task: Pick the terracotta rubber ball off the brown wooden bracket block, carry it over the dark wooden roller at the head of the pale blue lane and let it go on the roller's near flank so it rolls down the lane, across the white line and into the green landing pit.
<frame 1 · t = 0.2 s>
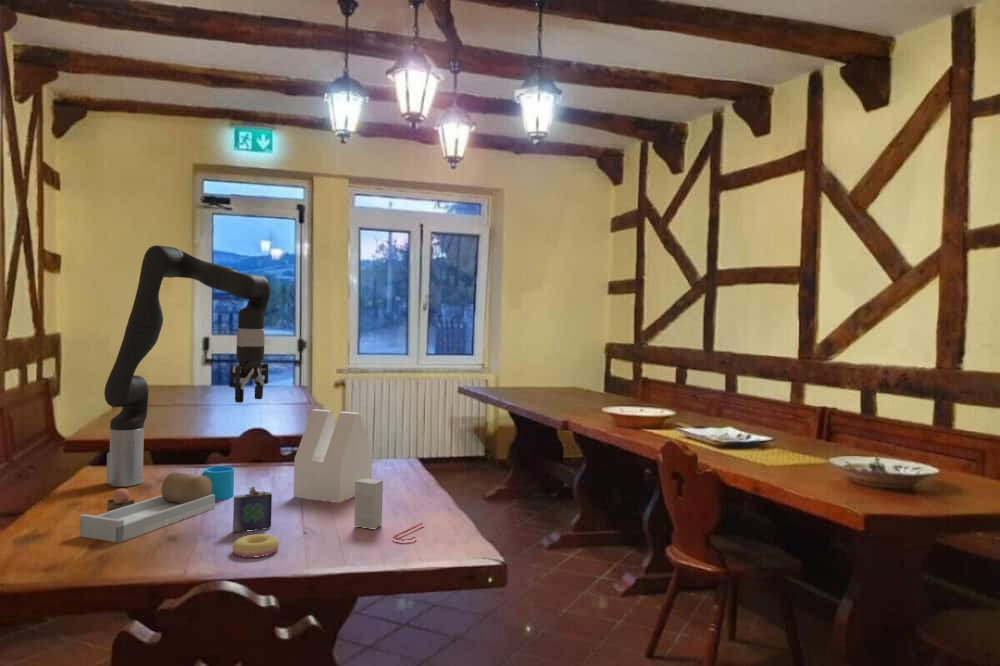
hand: (249, 400, 203), 29 cm above the table, tool pointing down, fingers open, 8 cm apart
flask: (252, 530, 177), on the table
ball: (120, 496, 188), point 4 cm above the table, touching brown wooden bracket block
skincare box: (367, 527, 183), on the table
lane: (153, 520, 182), on the table
candy cane: (411, 537, 178), on the table
donut: (255, 553, 162), on the table
brown wooden bracket block: (120, 512, 188), on the table
mug: (214, 496, 207), on the table
white slotted block: (333, 493, 216), on the table
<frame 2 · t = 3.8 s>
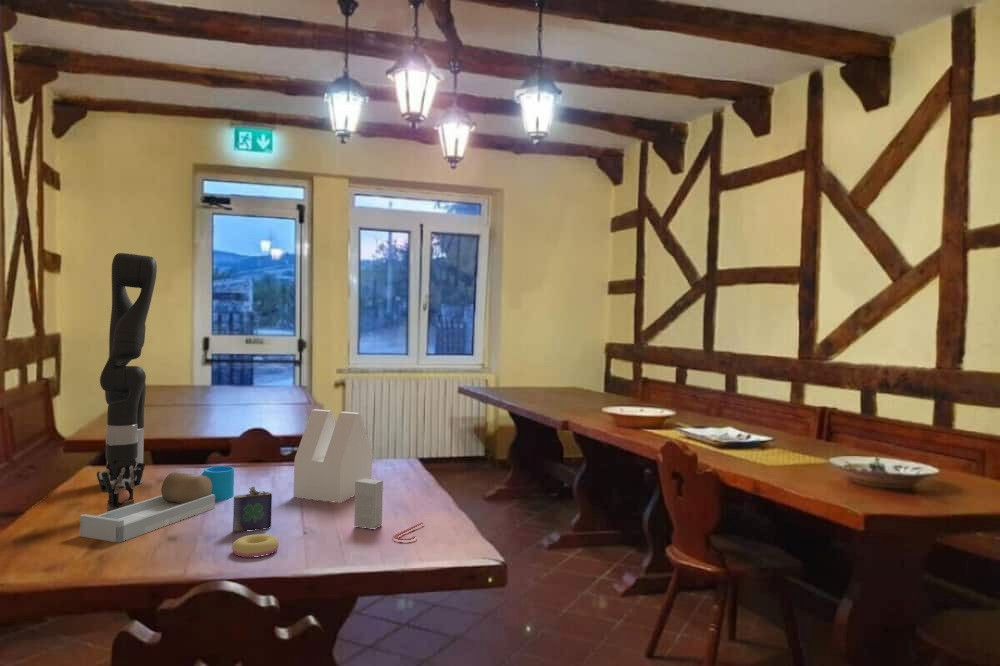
hand: (120, 504, 188), 2 cm above the table, tool pointing down, fingers closed on ball, 4 cm apart
ball: (121, 496, 188), point 4 cm above the table, touching gripper, brown wooden bracket block
everything else where it was.
when the fingers open (11 cm above the table, at t = 6.8 s): ball drops 11 cm, resting on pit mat.
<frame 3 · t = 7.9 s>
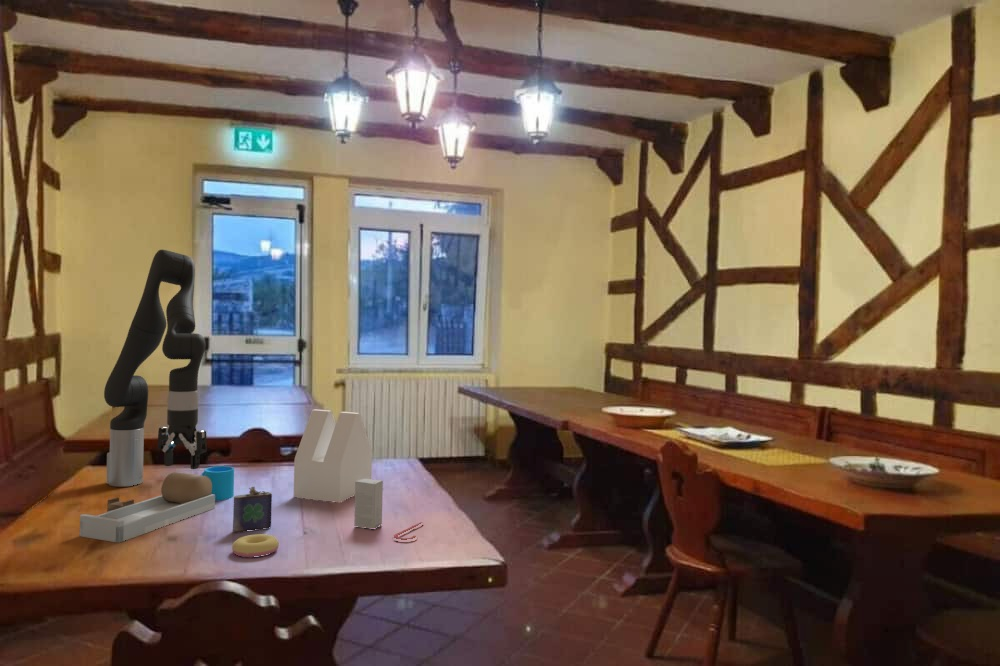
hand: (181, 467, 190), 12 cm above the table, tool pointing down, fingers open, 8 cm apart
ball: (111, 526, 169), point 2 cm above the table, tilted 11°, touching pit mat
everything else where it was.
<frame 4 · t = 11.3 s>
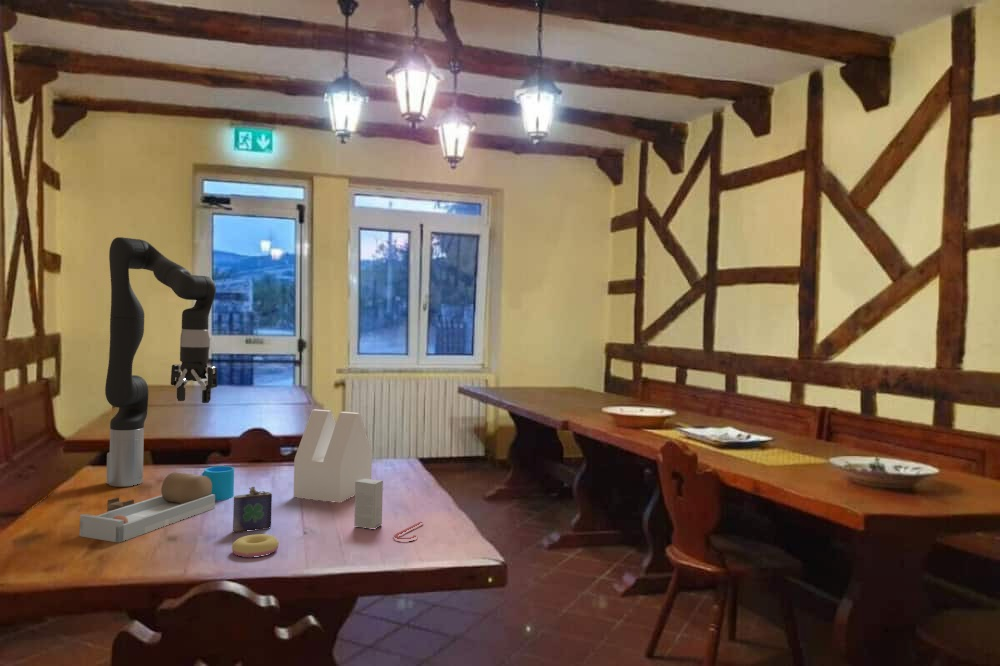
hand: (193, 401, 202), 28 cm above the table, tool pointing down, fingers open, 8 cm apart
ball: (118, 523, 171), point 2 cm above the table, tilted 73°, touching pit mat
at the end: ball inside the target area (0.7 cm from its centre), point 2.2 cm above the table; the gripper is holding nothing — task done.
